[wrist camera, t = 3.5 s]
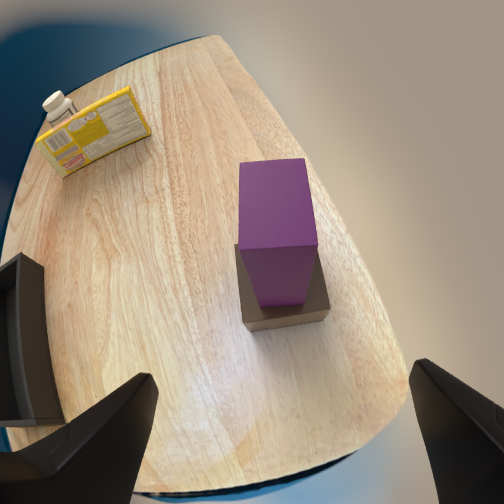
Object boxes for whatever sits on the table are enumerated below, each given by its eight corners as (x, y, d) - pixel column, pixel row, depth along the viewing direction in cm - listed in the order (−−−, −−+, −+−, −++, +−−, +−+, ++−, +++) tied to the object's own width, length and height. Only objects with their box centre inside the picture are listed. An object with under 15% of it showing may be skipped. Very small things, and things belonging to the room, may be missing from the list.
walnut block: (323, 320, 21) (330, 308, 18) (249, 331, 22) (242, 323, 18) (309, 253, 24) (313, 231, 20) (242, 264, 24) (234, 244, 21)
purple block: (304, 305, 18) (318, 245, 10) (259, 307, 18) (238, 250, 10) (299, 245, 20) (304, 157, 12) (258, 247, 20) (239, 162, 12)
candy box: (151, 127, 35) (130, 83, 28) (151, 135, 34) (129, 90, 27) (64, 170, 35) (36, 137, 27) (61, 179, 34) (32, 145, 26)
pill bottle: (70, 131, 40) (47, 96, 31) (91, 121, 40) (68, 83, 31) (61, 149, 38) (34, 113, 29) (82, 139, 38) (56, 100, 29)
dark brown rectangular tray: (66, 424, 19) (36, 425, 15) (23, 427, 18) (-3, 426, 14) (43, 266, 27) (20, 251, 23) (7, 290, 27) (-15, 278, 23)
